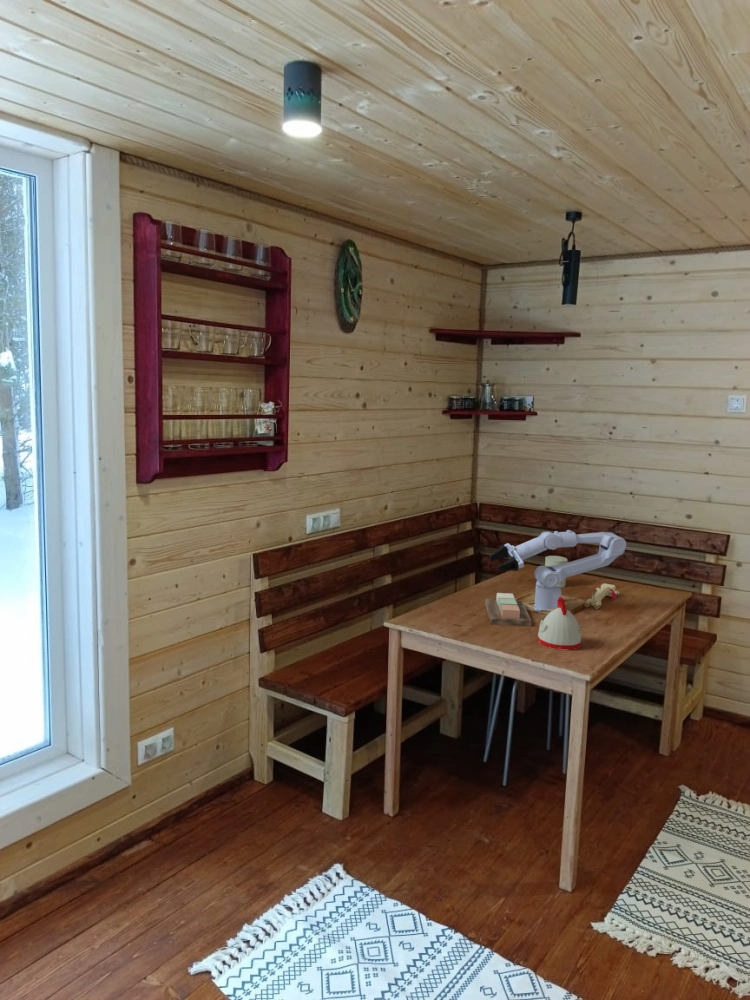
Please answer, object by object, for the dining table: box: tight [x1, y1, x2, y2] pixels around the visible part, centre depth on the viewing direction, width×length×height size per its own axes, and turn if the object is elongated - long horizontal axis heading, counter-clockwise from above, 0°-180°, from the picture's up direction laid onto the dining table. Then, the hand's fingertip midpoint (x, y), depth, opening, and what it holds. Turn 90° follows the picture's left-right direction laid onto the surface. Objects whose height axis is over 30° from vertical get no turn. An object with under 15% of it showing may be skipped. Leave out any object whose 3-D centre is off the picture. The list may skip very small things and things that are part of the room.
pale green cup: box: [544, 555, 568, 589], centre depth 318 cm, size 9×9×12 cm
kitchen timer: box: [537, 596, 582, 650], centre depth 248 cm, size 14×14×15 cm
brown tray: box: [484, 598, 532, 627], centre depth 276 cm, size 14×24×2 cm, turn 177°
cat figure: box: [584, 582, 620, 610], centre depth 298 cm, size 10×9×25 cm
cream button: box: [495, 592, 516, 605], centre depth 283 cm, size 6×6×4 cm
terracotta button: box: [500, 605, 520, 619], centre depth 268 cm, size 6×6×4 cm
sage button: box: [498, 599, 517, 612], centre depth 276 cm, size 6×6×4 cm
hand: (493, 564), depth 280 cm, fingers open, 7 cm apart
